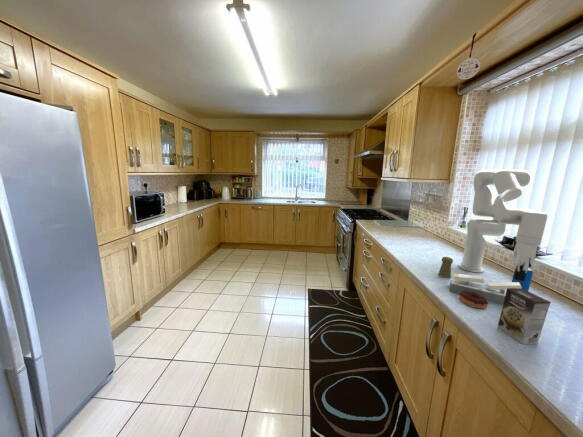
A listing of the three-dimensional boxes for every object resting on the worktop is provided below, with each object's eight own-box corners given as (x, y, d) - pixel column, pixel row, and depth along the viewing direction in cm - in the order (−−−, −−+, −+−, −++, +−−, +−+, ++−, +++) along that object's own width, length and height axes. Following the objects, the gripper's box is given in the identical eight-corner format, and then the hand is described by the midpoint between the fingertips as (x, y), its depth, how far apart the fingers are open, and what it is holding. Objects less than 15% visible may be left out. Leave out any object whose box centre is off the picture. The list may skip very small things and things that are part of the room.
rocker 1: (454, 277, 115) (454, 273, 115) (482, 279, 109) (482, 276, 109) (454, 280, 112) (454, 276, 112) (483, 283, 106) (483, 279, 106)
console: (449, 284, 118) (451, 274, 117) (520, 302, 104) (523, 290, 103) (450, 291, 111) (452, 280, 110) (525, 310, 97) (529, 298, 96)
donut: (491, 312, 95) (493, 303, 95) (463, 306, 99) (465, 298, 98) (481, 300, 105) (482, 292, 104) (456, 295, 108) (457, 287, 107)
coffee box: (496, 326, 86) (505, 287, 82) (511, 326, 86) (521, 287, 83) (522, 344, 77) (534, 301, 73) (539, 344, 77) (551, 301, 74)
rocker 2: (487, 286, 108) (487, 282, 108) (519, 286, 102) (518, 282, 102) (489, 289, 105) (488, 285, 105) (522, 289, 99) (521, 285, 99)
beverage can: (524, 288, 117) (529, 266, 115) (530, 294, 111) (536, 271, 109) (508, 285, 120) (513, 264, 117) (513, 291, 114) (519, 268, 111)
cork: (452, 278, 125) (456, 260, 123) (440, 277, 127) (444, 258, 124) (447, 274, 131) (451, 256, 129) (436, 272, 132) (439, 255, 130)
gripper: (511, 235, 105) (503, 272, 108) (521, 242, 93) (511, 283, 96) (534, 237, 101) (524, 276, 104) (547, 245, 89) (536, 288, 92)
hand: (518, 279), depth 100 cm, fingers closed
